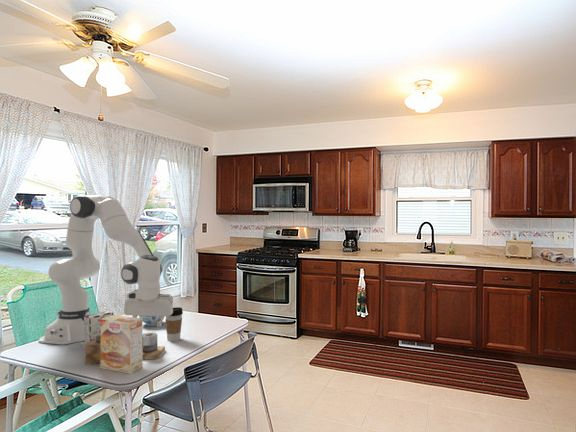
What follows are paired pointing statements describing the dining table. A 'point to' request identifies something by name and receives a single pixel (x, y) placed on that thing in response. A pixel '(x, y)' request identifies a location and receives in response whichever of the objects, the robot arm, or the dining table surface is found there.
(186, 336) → the dining table surface
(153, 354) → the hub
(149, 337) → the faceted octagonal planter
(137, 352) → the coffeecake box
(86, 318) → the candy bar box
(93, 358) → the stand
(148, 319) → the chinaware
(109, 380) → the dining table surface
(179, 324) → the coffee cup
